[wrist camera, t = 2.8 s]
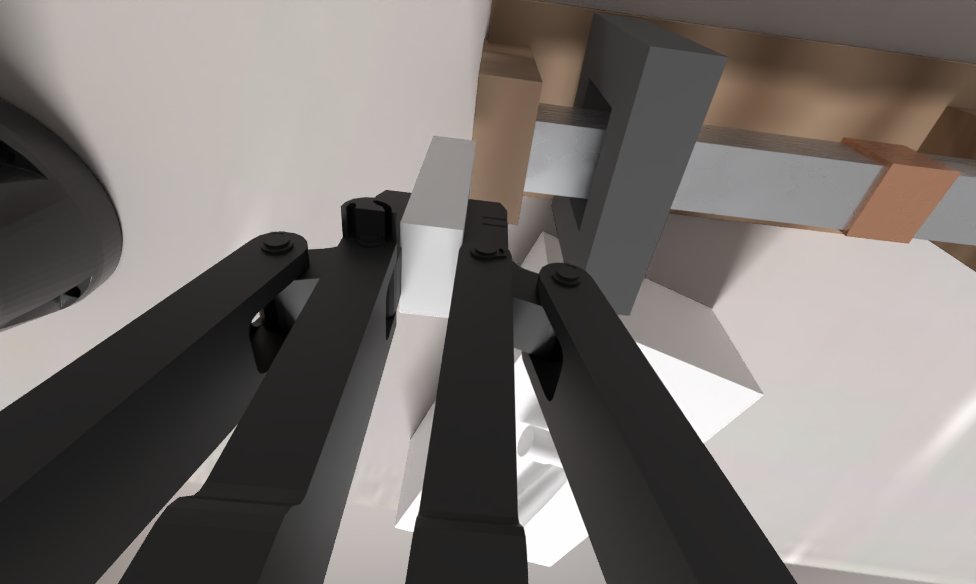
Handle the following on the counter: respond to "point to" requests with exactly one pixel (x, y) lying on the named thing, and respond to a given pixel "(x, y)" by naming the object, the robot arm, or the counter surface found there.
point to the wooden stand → (720, 95)
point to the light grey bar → (780, 178)
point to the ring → (634, 147)
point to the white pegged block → (540, 475)
